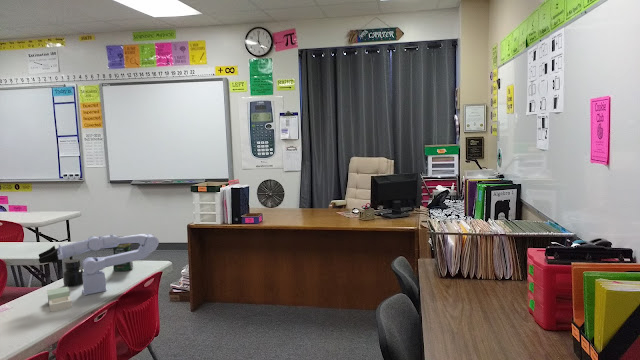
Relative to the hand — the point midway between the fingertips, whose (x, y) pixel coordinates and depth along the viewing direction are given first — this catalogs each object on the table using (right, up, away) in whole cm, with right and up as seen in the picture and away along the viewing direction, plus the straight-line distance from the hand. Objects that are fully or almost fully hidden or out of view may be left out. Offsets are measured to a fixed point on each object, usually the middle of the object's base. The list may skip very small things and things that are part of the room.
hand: (39, 258), depth 198 cm
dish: (+13, -20, -6) cm, 24 cm away
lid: (+9, -16, 0) cm, 18 cm away
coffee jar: (+17, -14, +47) cm, 52 cm away
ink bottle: (+2, -17, +24) cm, 29 cm away
